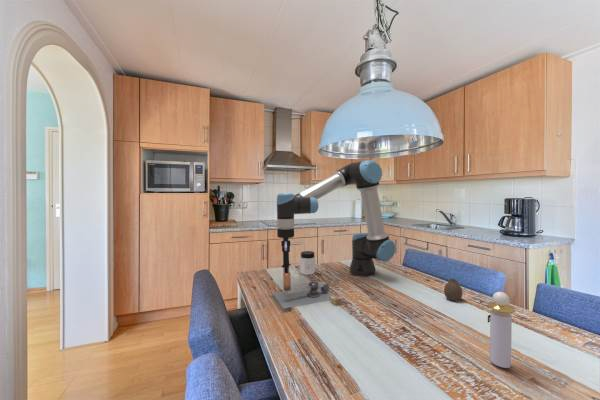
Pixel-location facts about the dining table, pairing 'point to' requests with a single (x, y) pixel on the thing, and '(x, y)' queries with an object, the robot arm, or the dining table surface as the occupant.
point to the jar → (307, 263)
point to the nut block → (336, 300)
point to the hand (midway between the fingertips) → (286, 280)
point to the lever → (310, 286)
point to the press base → (300, 298)
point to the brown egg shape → (453, 290)
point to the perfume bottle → (500, 330)
